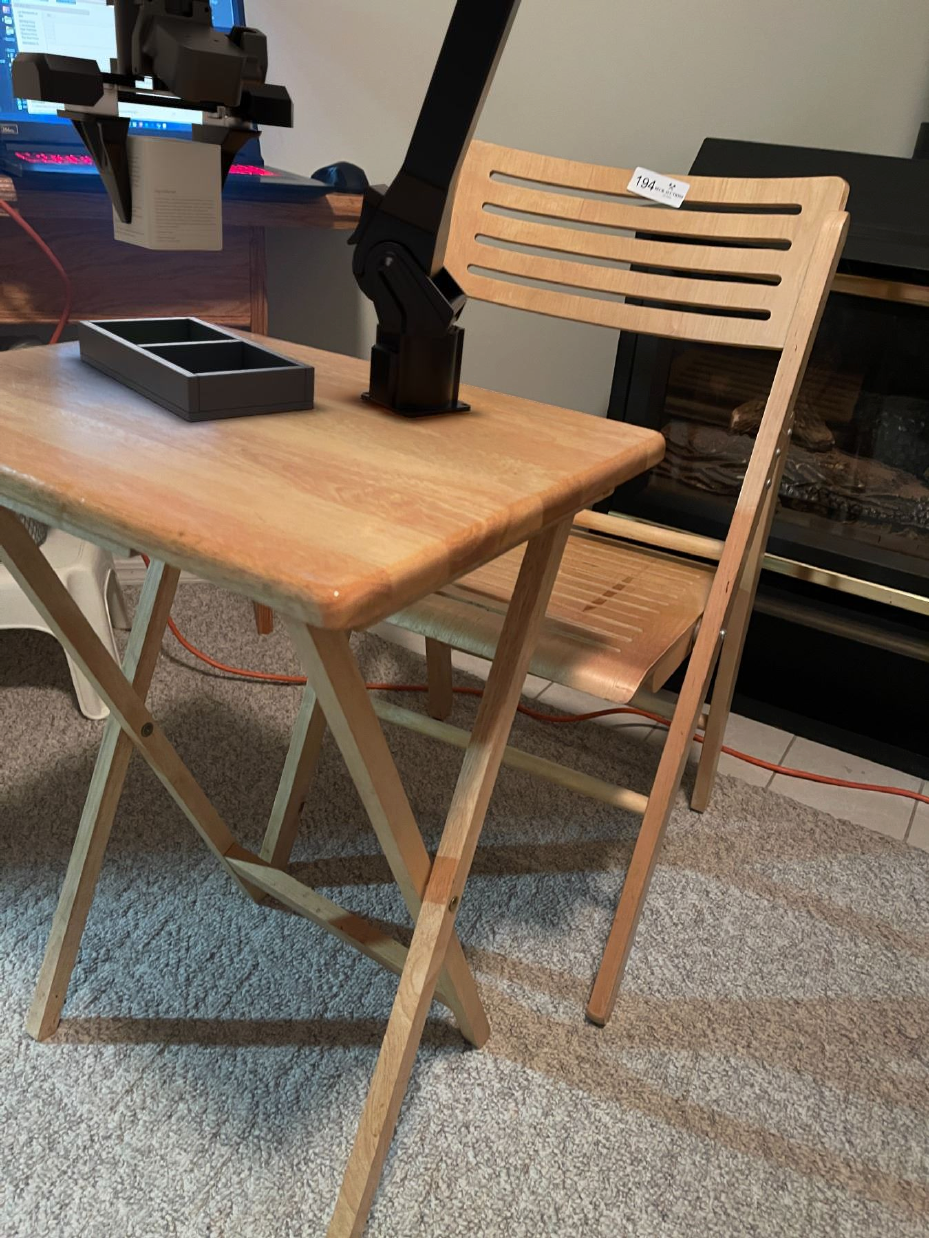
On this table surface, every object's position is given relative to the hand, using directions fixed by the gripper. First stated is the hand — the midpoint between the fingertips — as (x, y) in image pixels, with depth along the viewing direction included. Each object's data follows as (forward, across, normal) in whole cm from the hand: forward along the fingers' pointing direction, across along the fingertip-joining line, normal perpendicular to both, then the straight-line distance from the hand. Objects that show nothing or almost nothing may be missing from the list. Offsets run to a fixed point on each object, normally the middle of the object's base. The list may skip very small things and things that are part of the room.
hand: (166, 224), depth 70 cm
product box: (+2, 0, 0) cm, 2 cm away
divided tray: (+11, 0, -3) cm, 12 cm away
